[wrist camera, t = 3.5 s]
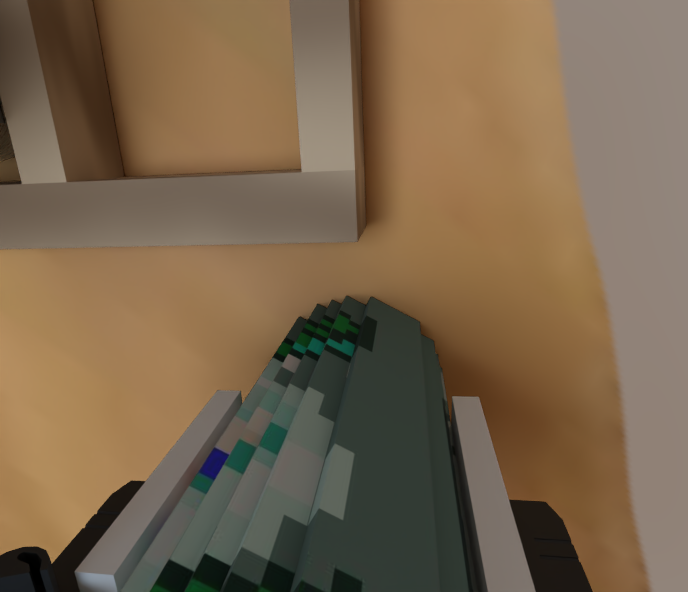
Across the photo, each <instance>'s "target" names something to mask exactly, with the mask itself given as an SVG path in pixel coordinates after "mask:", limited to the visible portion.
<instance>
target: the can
mask: <svg viewBox="0 0 688 592" xmlns="http://www.w3.org/2000/svg"><path fill="white" fill-rule="evenodd" d="M120 592H477V586H476V579H475V573H474V567H473V561H472V554H471V548H470V542H469V536H468V529H467V523H466V517H465V511H464V504H463V498H462V492H461V485H460V479H459V473H458V467H457V460H456V454H455V448H454V442H453V435H452V429H451V422H450V416H449V410H448V404H447V397H446V391H445V385H444V379H443V372H442V368H441V367H440V366H439V359H438V354H436V353H435V346H434V341H433V340H431V339H429V338H427V337H425V336H423V335H421V330H420V322H419V321H417V320H415V319H413V318H411V317H409V316H407V315H406V314H404V313H402V312H400V311H398V310H396V309H394V308H392V307H390V306H388V305H386V304H384V303H382V302H381V301H379V300H377V299H375V298H373V297H370V299H369V301H368V303H367V305H364V304H362V303H360V302H358V301H356V300H354V299H352V298H350V297H348V296H346V297H345V299H344V301H343V303H342V305H341V304H339V303H337V302H335V301H334V300H332V301H331V302H330V304H329V306H328V308H325V307H323V306H321V305H319V304H317V306H316V307H315V309H314V311H313V312H312V314H311V316H310V318H309V319H308V321H307V320H305V319H303V318H301V317H298V319H297V320H296V322H295V324H294V325H293V327H292V328H291V330H290V331H289V333H288V334H287V336H286V337H285V339H284V340H283V342H282V344H281V345H280V347H279V348H278V350H277V351H276V353H275V354H274V356H273V357H272V359H271V360H270V362H269V364H268V365H267V367H266V368H265V370H264V371H263V373H262V374H261V376H260V377H259V379H258V380H257V382H256V384H255V385H254V387H253V388H252V390H251V391H250V393H249V394H248V396H247V397H246V399H245V400H244V402H243V404H242V405H241V407H240V408H239V410H238V411H237V413H236V414H235V416H234V417H233V419H232V420H231V422H230V424H229V425H228V427H227V428H226V430H225V431H224V433H223V434H222V436H221V437H220V439H219V440H218V442H217V444H216V445H215V447H214V448H213V450H212V451H211V453H210V454H209V456H208V457H207V459H206V461H205V462H204V464H203V465H202V467H201V468H200V470H199V471H198V473H197V474H196V476H195V477H194V479H193V481H192V482H191V484H190V485H189V487H188V488H187V490H186V491H185V493H184V494H183V496H182V497H181V499H180V501H179V502H178V504H177V505H176V507H175V508H174V510H173V511H172V513H171V514H170V516H169V517H168V519H167V521H166V522H165V524H164V525H163V527H162V528H161V530H160V531H159V533H158V534H157V536H156V537H155V539H154V541H153V542H152V544H151V545H150V547H149V548H148V550H147V551H146V553H145V554H144V556H143V557H142V559H141V561H140V562H139V564H138V565H137V567H136V568H135V570H134V571H133V573H132V574H131V576H130V577H129V579H128V581H127V582H126V584H125V585H124V587H123V588H122V590H121V591H120Z"/></svg>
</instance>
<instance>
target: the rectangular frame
mask: <svg viewBox="0 0 688 592" xmlns="http://www.w3.org/2000/svg"><path fill="white" fill-rule="evenodd" d="M290 13H291V28H292V42H293V56H294V70H295V85H296V99H297V113H298V127H299V142H300V156H301V169H295V170H271V171H248V172H225V173H202V174H179V175H156V176H133V177H124V172H123V166H122V161H121V155H120V150H119V144H118V139H117V133H116V127H115V122H114V116H113V111H112V105H111V100H110V94H109V89H108V83H107V78H106V72H105V67H104V61H103V56H102V50H101V45H100V39H99V34H98V28H97V23H96V17H95V12H94V6H93V0H0V96H1V101H2V105H3V109H4V113H5V117H6V121H7V125H8V129H9V133H10V137H11V141H12V145H13V149H14V153H15V157H16V161H17V166H18V170H19V174H20V178H21V181H17V182H0V249H35V248H84V247H132V246H181V245H229V244H277V243H326V242H358V240H359V238H360V236H361V235H362V233H363V231H364V229H365V227H366V201H365V168H364V136H363V104H362V71H361V39H360V6H359V0H290Z"/></svg>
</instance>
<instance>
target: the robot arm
mask: <svg viewBox="0 0 688 592" xmlns="http://www.w3.org/2000/svg"><path fill="white" fill-rule="evenodd" d="M241 405H242V397H241V391H224V390H217V392H216V393H215V394H214V395H213V397H212V398H211V399H210V401H209V402H208V403H207V404H206V406H205V407H204V408H203V409H202V411H201V412H200V413H199V414H198V416H197V417H196V418H195V420H194V421H193V422H192V423H191V425H190V426H189V427H188V428H187V430H186V431H185V432H184V433H183V435H182V436H181V437H180V439H179V440H178V441H177V442H176V444H175V445H174V446H173V447H172V449H171V450H170V451H169V452H168V454H167V455H166V456H165V458H164V459H163V460H162V461H161V463H160V464H159V465H158V466H157V468H156V469H155V470H154V471H153V473H152V474H151V475H150V477H149V478H148V479H147V480H146V481H130V482H129V483H127V484H126V485H124V486H123V487H121V488H120V489H119V490H117V491H116V492H114V493H113V494H112V495H111V496H110V497H109V498H108V499H107V500H106V502H105V503H104V504H103V505H102V506H101V507H100V509H99V510H98V511H97V514H94V516H93V517H92V518H91V519H90V520H89V521H88V523H87V524H86V527H85V528H82V530H81V531H80V532H79V533H78V534H77V535H76V537H75V538H74V539H73V540H72V541H71V542H70V544H69V545H68V546H67V547H66V548H65V549H64V551H63V552H62V553H61V554H60V555H59V556H58V558H57V559H56V560H55V561H54V562H53V563H52V564H51V561H50V558H49V555H48V553H47V551H46V550H44V549H42V548H39V547H22V548H19V549H15V550H12V551H9V552H6V553H4V554H2V555H0V592H120V591H121V590H122V588H123V587H124V585H125V584H126V582H127V581H128V579H129V577H130V576H131V574H132V573H133V571H134V570H135V568H136V567H137V565H138V564H139V562H140V561H141V559H142V557H143V556H144V554H145V553H146V551H147V550H148V548H149V547H150V545H151V544H152V542H153V541H154V539H155V537H156V536H157V534H158V533H159V531H160V530H161V528H162V527H163V525H164V524H165V522H166V521H167V519H168V517H169V516H170V514H171V513H172V511H173V510H174V508H175V507H176V505H177V504H178V502H179V501H180V499H181V497H182V496H183V494H184V493H185V491H186V490H187V488H188V487H189V485H190V484H191V482H192V481H193V479H194V477H195V476H196V474H197V473H198V471H199V470H200V468H201V467H202V465H203V464H204V462H205V461H206V459H207V457H208V456H209V454H210V453H211V451H212V450H213V448H214V447H215V445H216V444H217V442H218V440H219V439H220V437H221V436H222V434H223V433H224V431H225V430H226V428H227V427H228V425H229V424H230V422H231V420H232V419H233V417H234V416H235V414H236V413H237V411H238V410H239V408H240V407H241ZM451 429H452V435H453V442H454V448H455V454H456V460H457V467H458V473H459V479H460V485H461V492H462V498H463V504H464V511H465V517H466V523H467V529H468V536H469V542H470V548H471V554H472V561H473V567H474V573H475V579H476V586H477V592H593V591H592V589H591V586H590V584H589V582H588V579H587V577H586V574H585V572H584V570H583V567H582V565H581V563H580V562H579V560H578V555H577V553H576V551H575V548H574V546H573V544H571V539H570V536H569V534H568V532H567V529H566V527H565V525H564V522H563V520H562V519H561V518H560V517H559V516H558V515H557V513H556V512H555V511H554V510H553V509H552V508H551V507H550V506H549V505H548V504H547V503H546V502H540V501H521V500H509V499H508V495H507V492H506V488H505V485H504V482H503V478H502V475H501V471H500V468H499V464H498V461H497V458H496V454H495V451H494V447H493V444H492V440H491V437H490V434H489V430H488V427H487V423H486V420H485V416H484V413H483V409H482V406H481V403H480V399H479V397H463V396H452V418H451Z"/></svg>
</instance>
